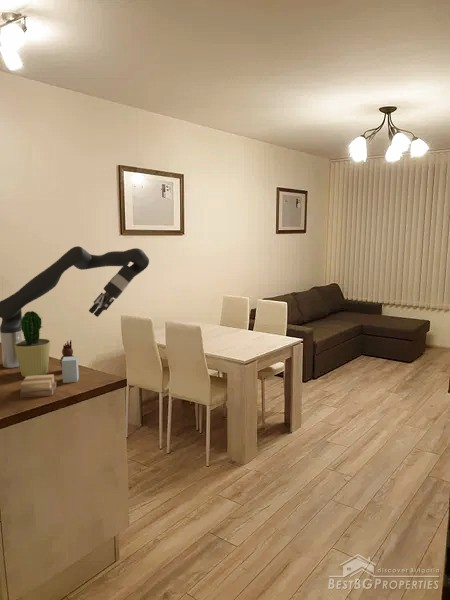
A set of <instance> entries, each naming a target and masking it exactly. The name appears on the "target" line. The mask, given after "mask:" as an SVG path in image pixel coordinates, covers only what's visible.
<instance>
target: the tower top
mask: <svg viewBox="0 0 450 600" xmlns="http://www.w3.org/2000/svg"><path fill="white" fill-rule="evenodd" d="M55 380H56V379H55V374H54V373H51V374H49V373H48V374H44V375H32V376H26V377H25V378H24V379H23V380H22V382H21V383H20V391H21V392H24V391H39V390H50V389H51V387H52V385H53V383H54V381H55Z"/></svg>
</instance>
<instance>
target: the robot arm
mask: <svg viewBox="0 0 450 600" xmlns="http://www.w3.org/2000/svg"><path fill="white" fill-rule="evenodd" d="M130 263H132V264H131V265H129V264H130ZM149 264H150V259H149V257H148V256H147V254H146V253H145V252H144V250H143V249H140V248H136V247H135V248H131V249H127V250H125V251H123V250H121V251H120V250H118V251H116V250H114V251H107V252H105V253H104V254H99V255H98V254H97V255H96V254H91V253H89V252H88V251H87V250H86V249H84V248H83V247H81V246H73V247H72V248H70V249H69V250H68V251H66V252H65V253H63V255H61V257H59V258H58V259H57V260H56V261H55V262H53V263H52V264H51V265H50V266H48V267H46V269H44V270H43V271H41V272H40V273H38V274H37V275H35V276H34V277H33V278H31V279H30V280H29V281H28V282H27V283H25V284H24V285H23V286H22V287H21V288H20V289H18V290H17V291H16V292H15V293H13V294H11V295H10V296H8V297H7V298H4V299H2V300H1V301H0V318H1V324H0V343H1V355H2V357H1V358H2V367H3V368H7V369H11V368H12V369H13V368H20V366H19V362H18V358H17V354H16V350H15V345H14V344H15V343H16V342H19V341H22V340H23V337H22V336H23V334H22V333H21V332H22V330H21V329H20V328H21V321H22V317H23V313H22V309H23V308H24V307H25V306H27V305H28V304H30V303H32V302H33V301H35V300H37V299H39V298H41V297H43V296H44V295H46V294H47V293H49V292H50V291H52V290H53V289H54V288H55V287H56V286H57V285H58V283H59V281H60V279H61V278H62V275H63V274H64V273H65V271H67V270H68V269H71V267H75V268H76V269H78V270H82V271H83V270H91V269H97V268H98V269H99V268H104V267H121V268H120V269H119V270H118V271H117V273H115V274H114V275H113V277H111V279H110V280H109V281H108V282H107V284H106V285H105V286H104V287H103V290H104V293H103V292H100V294H99V295H98V296H97V297H96V298H95V300H93V305H92V306H91V307H90V308H89V310H88V312H89V313H90V314H93V315H94V316H95V317H98V318H99V316H100V315H101V314H102V312H104V311H107V310H108V309H109V307H110V306H111V305H112V304H113V303H114V302H115V300H116V299H118V298H119V297H120V296H121V295H122V293H124V291H125V290H126V288H127V287H128V286H129V284H130V283H131V282H132V281H133V279H134V278H135V277H136V276H138V275H139V274H140V273H142V272H144V270H146V269H147V268H148V266H149ZM19 323H20V324H19Z"/></svg>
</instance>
